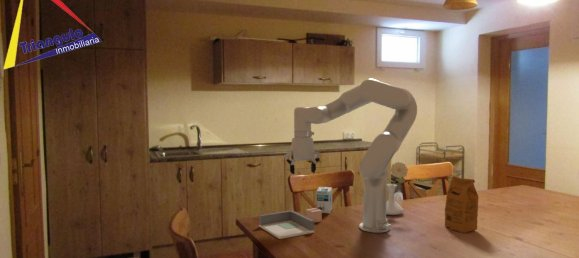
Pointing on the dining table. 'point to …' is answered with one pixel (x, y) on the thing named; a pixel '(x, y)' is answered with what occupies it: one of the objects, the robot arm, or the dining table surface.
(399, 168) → the flower in vase
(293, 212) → the tray
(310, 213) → the cube
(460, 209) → the coffee package
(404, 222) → the dining table surface
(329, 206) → the light bulb box
